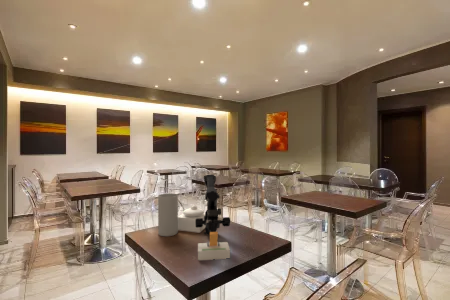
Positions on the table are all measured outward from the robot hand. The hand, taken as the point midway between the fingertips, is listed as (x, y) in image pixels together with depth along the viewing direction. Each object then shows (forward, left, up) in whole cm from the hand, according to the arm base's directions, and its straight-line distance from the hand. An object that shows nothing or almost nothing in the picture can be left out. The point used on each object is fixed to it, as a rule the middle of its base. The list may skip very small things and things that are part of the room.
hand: (213, 237), depth 124 cm
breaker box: (0, 0, -9) cm, 9 cm away
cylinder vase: (-6, -45, -10) cm, 46 cm away
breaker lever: (-1, -1, -5) cm, 5 cm away
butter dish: (-25, -41, -10) cm, 49 cm away
